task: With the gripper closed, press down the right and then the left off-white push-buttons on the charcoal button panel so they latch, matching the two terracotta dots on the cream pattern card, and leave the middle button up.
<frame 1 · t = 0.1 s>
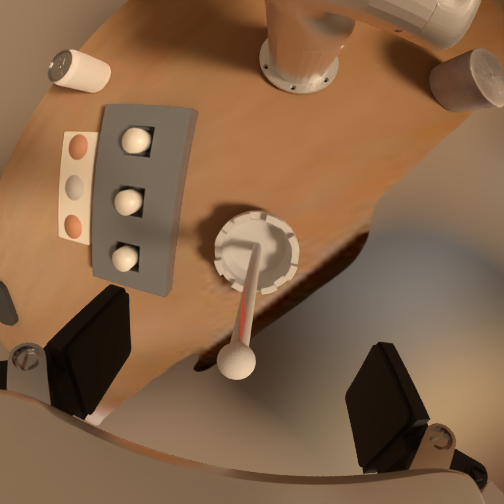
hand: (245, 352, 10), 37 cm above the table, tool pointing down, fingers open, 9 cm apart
button panel: (139, 197, 46), on the table
middle button: (129, 201, 42), point 4 cm above the table, slide at 0.0 cm
pillar candle: (447, 88, 34), on the table
flag stand: (258, 244, 47), on the table
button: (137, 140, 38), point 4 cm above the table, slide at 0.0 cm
pattern card: (77, 187, 46), on the table
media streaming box: (3, 300, 60), on the table
can: (98, 77, 38), on the table
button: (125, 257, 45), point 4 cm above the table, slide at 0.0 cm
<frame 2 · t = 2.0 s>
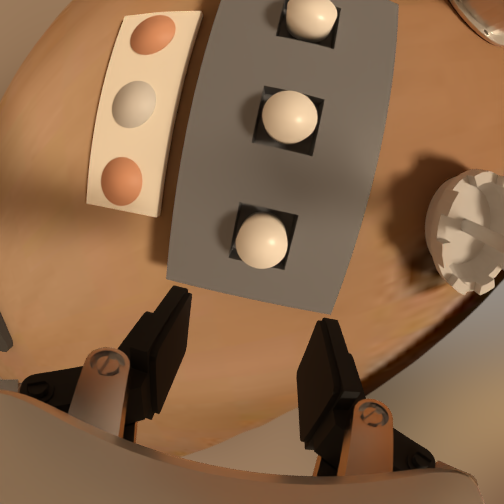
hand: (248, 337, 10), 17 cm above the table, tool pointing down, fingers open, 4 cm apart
button panel: (286, 124, 23), on the table
middle button: (288, 118, 20), point 4 cm above the table, slide at 0.0 cm
flag stand: (460, 223, 25), on the table
pattern card: (138, 105, 24), on the table
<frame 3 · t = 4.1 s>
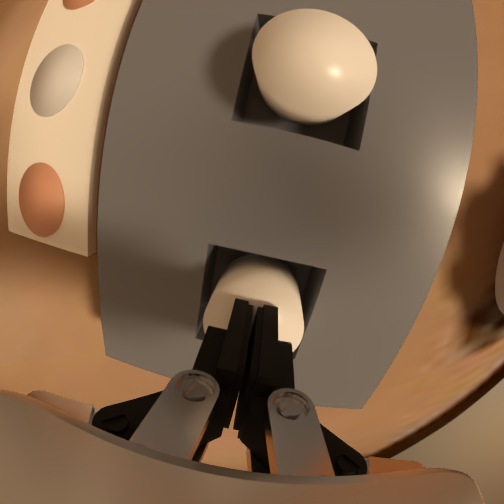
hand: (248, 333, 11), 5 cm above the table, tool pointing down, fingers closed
button panel: (301, 93, 12), on the table
middle button: (310, 70, 8), point 4 cm above the table, slide at 0.0 cm
pattern card: (64, 81, 12), on the table
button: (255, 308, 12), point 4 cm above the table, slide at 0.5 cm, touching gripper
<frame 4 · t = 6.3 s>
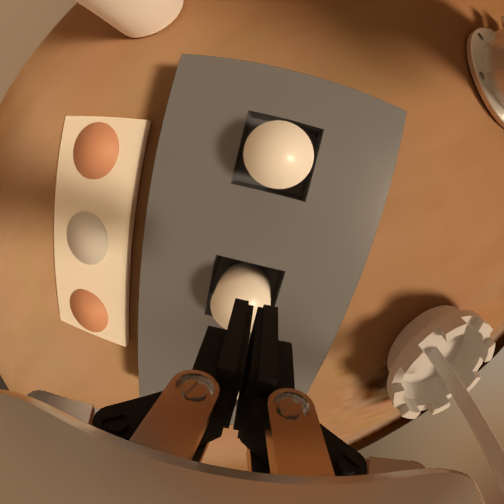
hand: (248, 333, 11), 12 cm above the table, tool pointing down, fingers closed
button panel: (246, 275, 23), on the table
middle button: (242, 297, 20), point 4 cm above the table, slide at 0.0 cm
flag stand: (428, 346, 25), on the table
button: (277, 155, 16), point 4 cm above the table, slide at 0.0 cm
pattern card: (92, 235, 23), on the table
can: (151, 12, 16), on the table
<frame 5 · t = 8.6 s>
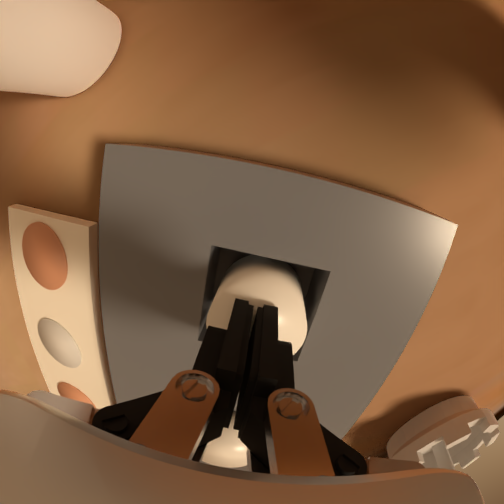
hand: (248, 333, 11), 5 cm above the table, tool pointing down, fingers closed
button panel: (233, 394, 19), on the table
middle button: (225, 435, 15), point 4 cm above the table, slide at 0.0 cm
flag stand: (431, 428, 20), on the table
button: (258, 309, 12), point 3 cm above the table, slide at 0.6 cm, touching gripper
pattern card: (65, 337, 19), on the table
can: (85, 53, 12), on the table
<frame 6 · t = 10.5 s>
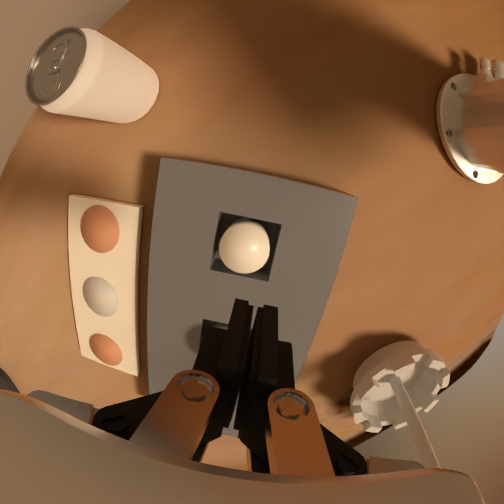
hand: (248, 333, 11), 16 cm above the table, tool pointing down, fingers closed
button panel: (229, 325, 29), on the table
middle button: (224, 348, 25), point 4 cm above the table, slide at 0.0 cm
flag stand: (391, 372, 31), on the table
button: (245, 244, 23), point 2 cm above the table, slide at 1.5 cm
pattern card: (104, 293, 29), on the table
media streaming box: (7, 385, 42), on the table
can: (131, 93, 22), on the table
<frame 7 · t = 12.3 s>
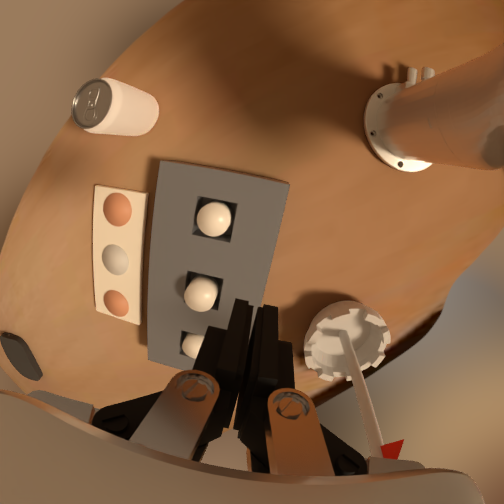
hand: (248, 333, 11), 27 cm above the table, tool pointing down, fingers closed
button panel: (208, 280, 40), on the table
middle button: (201, 292, 37), point 4 cm above the table, slide at 0.0 cm
flag stand: (341, 329, 42), on the table
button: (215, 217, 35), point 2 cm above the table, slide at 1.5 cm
pattern card: (118, 257, 40), on the table
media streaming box: (23, 353, 54), on the table
can: (140, 114, 33), on the table
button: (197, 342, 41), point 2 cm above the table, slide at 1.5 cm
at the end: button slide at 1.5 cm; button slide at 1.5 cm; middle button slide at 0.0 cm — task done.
